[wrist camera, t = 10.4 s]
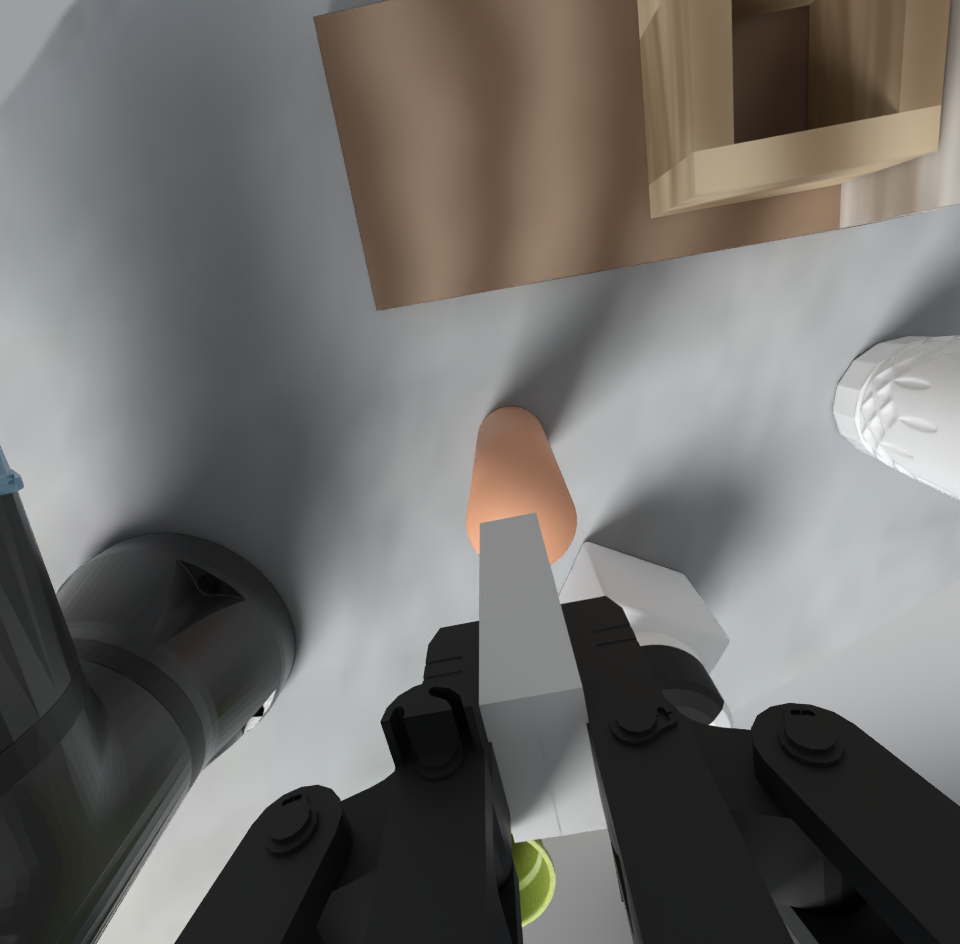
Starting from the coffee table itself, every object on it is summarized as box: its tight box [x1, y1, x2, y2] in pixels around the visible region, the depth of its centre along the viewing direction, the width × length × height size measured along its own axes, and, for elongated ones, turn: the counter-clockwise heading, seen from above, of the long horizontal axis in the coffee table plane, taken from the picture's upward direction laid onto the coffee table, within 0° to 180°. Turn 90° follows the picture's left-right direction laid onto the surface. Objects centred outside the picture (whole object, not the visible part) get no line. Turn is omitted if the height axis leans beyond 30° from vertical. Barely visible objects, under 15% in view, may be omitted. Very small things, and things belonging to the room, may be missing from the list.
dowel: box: [466, 406, 577, 565], centre depth 25 cm, size 4×4×13 cm
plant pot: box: [511, 830, 556, 927], centre depth 35 cm, size 9×9×9 cm
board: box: [313, 0, 960, 310], centre depth 22 cm, size 26×13×10 cm, turn 100°
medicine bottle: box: [559, 542, 733, 728], centre depth 29 cm, size 7×7×12 cm
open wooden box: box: [637, 0, 950, 219], centre depth 22 cm, size 9×9×6 cm
